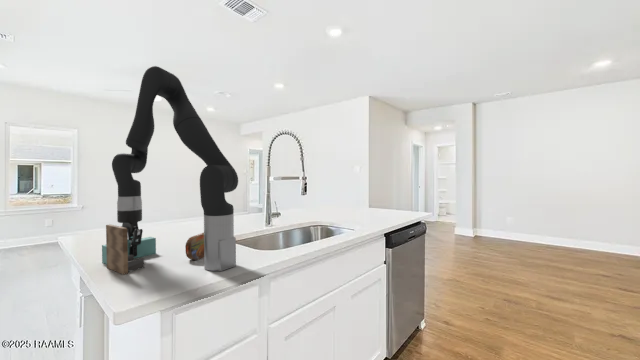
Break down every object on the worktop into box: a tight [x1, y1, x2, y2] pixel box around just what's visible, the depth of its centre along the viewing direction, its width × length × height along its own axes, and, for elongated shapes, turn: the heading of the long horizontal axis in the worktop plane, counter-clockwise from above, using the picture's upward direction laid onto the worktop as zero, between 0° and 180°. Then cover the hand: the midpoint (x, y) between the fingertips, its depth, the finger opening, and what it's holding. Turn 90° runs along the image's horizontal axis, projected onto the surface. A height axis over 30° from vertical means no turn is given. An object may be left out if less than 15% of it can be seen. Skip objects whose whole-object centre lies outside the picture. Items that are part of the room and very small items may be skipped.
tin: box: [185, 232, 204, 261], centre depth 106 cm, size 15×3×8 cm, turn 168°
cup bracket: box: [105, 223, 145, 276], centre depth 92 cm, size 12×7×14 cm, turn 57°
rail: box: [101, 236, 157, 265], centre depth 104 cm, size 4×16×6 cm, turn 146°
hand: (130, 255), depth 104 cm, fingers closed on rail, 4 cm apart
